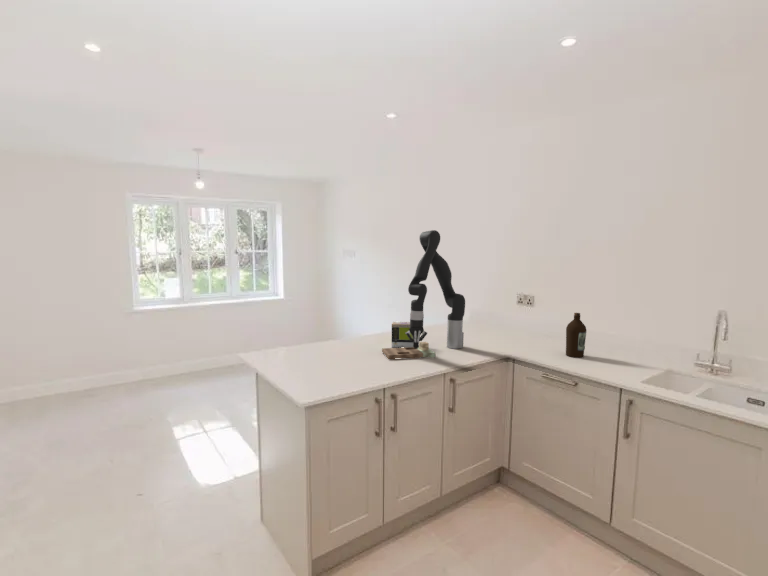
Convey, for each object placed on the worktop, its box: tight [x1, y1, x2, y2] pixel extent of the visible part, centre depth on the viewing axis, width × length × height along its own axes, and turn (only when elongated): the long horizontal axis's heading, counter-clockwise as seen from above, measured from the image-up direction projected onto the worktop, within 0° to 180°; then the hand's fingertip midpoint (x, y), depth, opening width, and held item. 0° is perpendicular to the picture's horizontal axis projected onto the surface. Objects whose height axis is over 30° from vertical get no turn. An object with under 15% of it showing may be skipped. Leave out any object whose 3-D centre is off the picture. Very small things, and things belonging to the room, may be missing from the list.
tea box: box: [391, 321, 413, 348], centre depth 261 cm, size 15×10×15 cm, turn 84°
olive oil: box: [565, 312, 587, 359], centre depth 243 cm, size 11×11×25 cm
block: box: [419, 341, 430, 351], centre depth 243 cm, size 4×4×4 cm
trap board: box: [381, 347, 436, 360], centre depth 241 cm, size 27×15×2 cm, turn 104°
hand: (415, 348), depth 241 cm, fingers closed
